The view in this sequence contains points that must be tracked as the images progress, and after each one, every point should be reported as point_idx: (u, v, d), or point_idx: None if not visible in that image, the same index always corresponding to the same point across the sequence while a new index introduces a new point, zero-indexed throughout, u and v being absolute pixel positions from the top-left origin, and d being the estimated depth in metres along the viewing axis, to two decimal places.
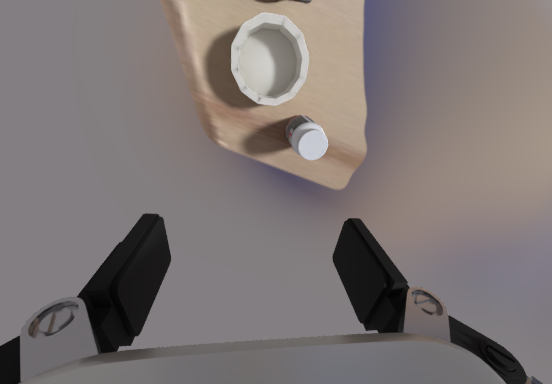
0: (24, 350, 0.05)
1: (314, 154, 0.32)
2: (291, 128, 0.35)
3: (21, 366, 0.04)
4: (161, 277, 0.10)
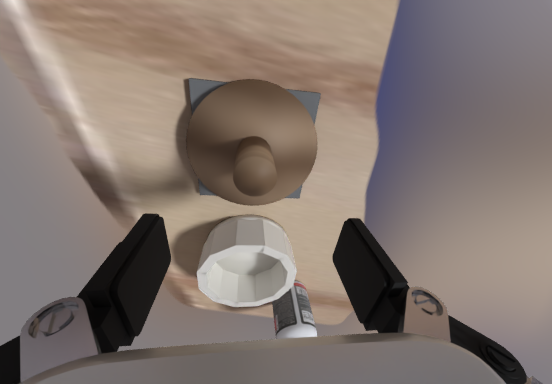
0: (24, 350, 0.05)
1: None
2: (276, 314, 0.29)
3: (21, 366, 0.04)
4: (161, 277, 0.10)
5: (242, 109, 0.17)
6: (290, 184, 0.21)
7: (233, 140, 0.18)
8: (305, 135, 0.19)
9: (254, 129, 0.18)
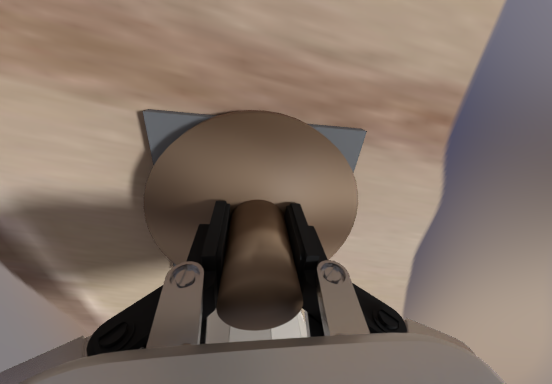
0: (164, 290, 0.06)
1: None
2: None
3: (159, 302, 0.06)
4: None
5: (237, 161, 0.10)
6: None
7: None
8: (340, 195, 0.12)
9: (257, 190, 0.11)
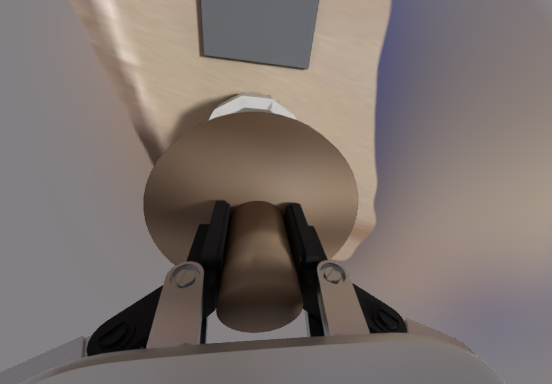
0: (163, 290, 0.06)
1: None
2: None
3: (159, 302, 0.06)
4: None
5: (237, 162, 0.10)
6: None
7: None
8: (340, 197, 0.12)
9: (257, 191, 0.11)
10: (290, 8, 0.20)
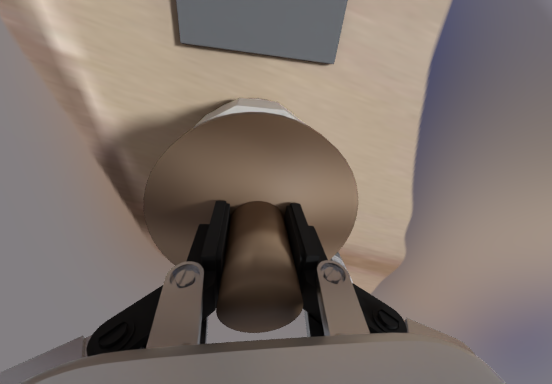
0: (163, 290, 0.06)
1: None
2: None
3: (159, 302, 0.06)
4: None
5: (237, 162, 0.10)
6: None
7: None
8: (340, 197, 0.12)
9: (257, 191, 0.11)
10: None
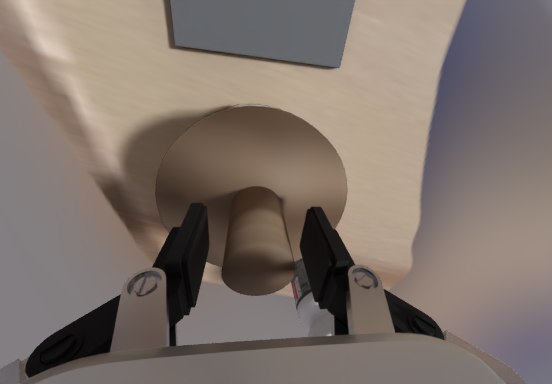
0: (121, 302, 0.06)
1: None
2: (296, 276, 0.20)
3: (117, 315, 0.06)
4: (205, 260, 0.11)
5: (238, 150, 0.11)
6: None
7: (225, 192, 0.12)
8: (331, 183, 0.13)
9: (256, 177, 0.12)
10: None
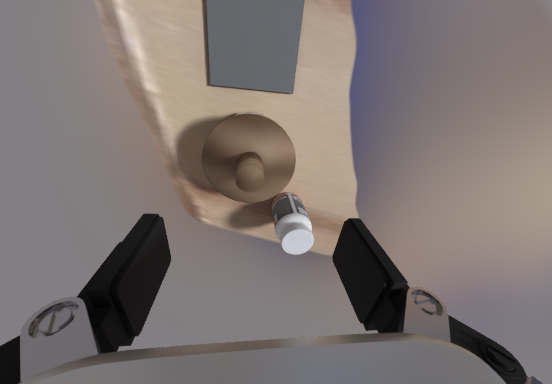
0: (24, 350, 0.05)
1: (299, 249, 0.30)
2: (275, 213, 0.33)
3: (21, 366, 0.04)
4: (161, 277, 0.10)
5: (241, 133, 0.25)
6: (277, 186, 0.29)
7: (235, 154, 0.26)
8: (286, 150, 0.26)
9: (249, 146, 0.26)
10: (277, 49, 0.26)
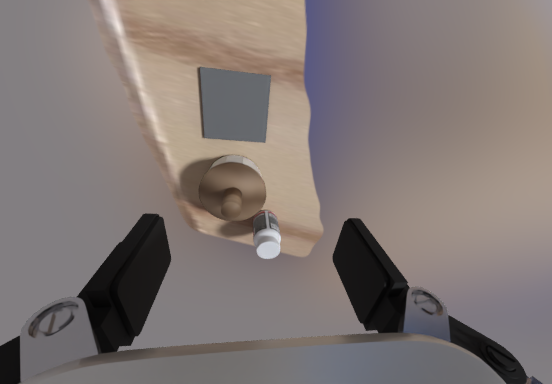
0: (24, 350, 0.05)
1: (270, 255, 0.40)
2: (254, 227, 0.43)
3: (21, 366, 0.04)
4: (161, 277, 0.10)
5: (226, 176, 0.35)
6: (253, 210, 0.39)
7: (222, 189, 0.36)
8: (259, 186, 0.37)
9: (232, 184, 0.36)
10: (252, 114, 0.36)
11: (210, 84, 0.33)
